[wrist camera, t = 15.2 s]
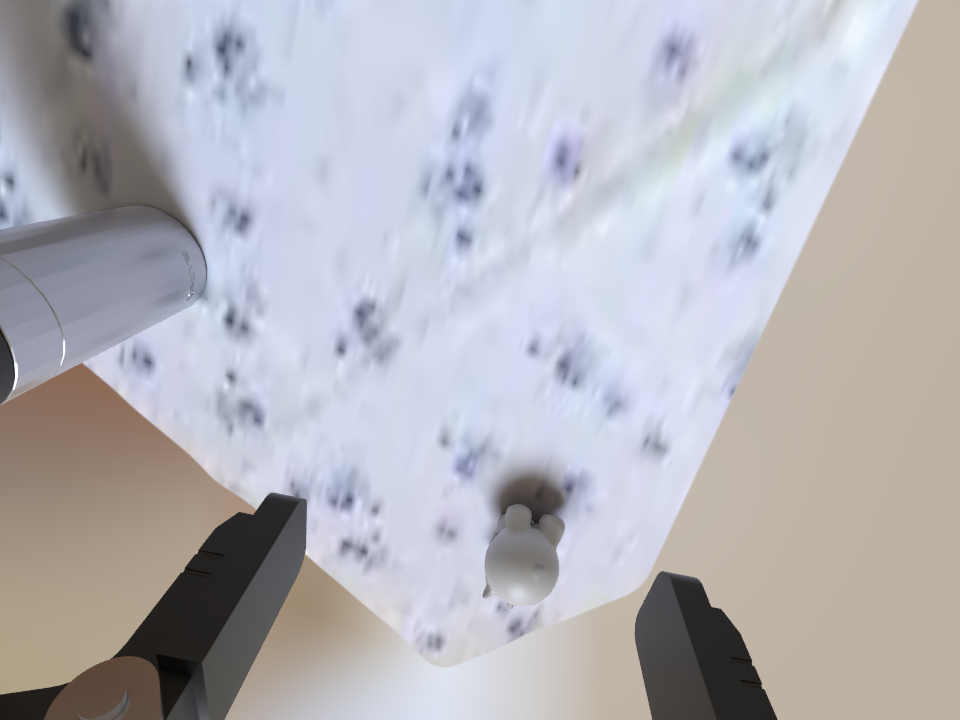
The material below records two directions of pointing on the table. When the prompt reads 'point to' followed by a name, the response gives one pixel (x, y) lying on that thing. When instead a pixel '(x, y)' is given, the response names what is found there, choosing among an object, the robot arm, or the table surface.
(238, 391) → the table surface
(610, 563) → the table surface
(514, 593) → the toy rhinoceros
